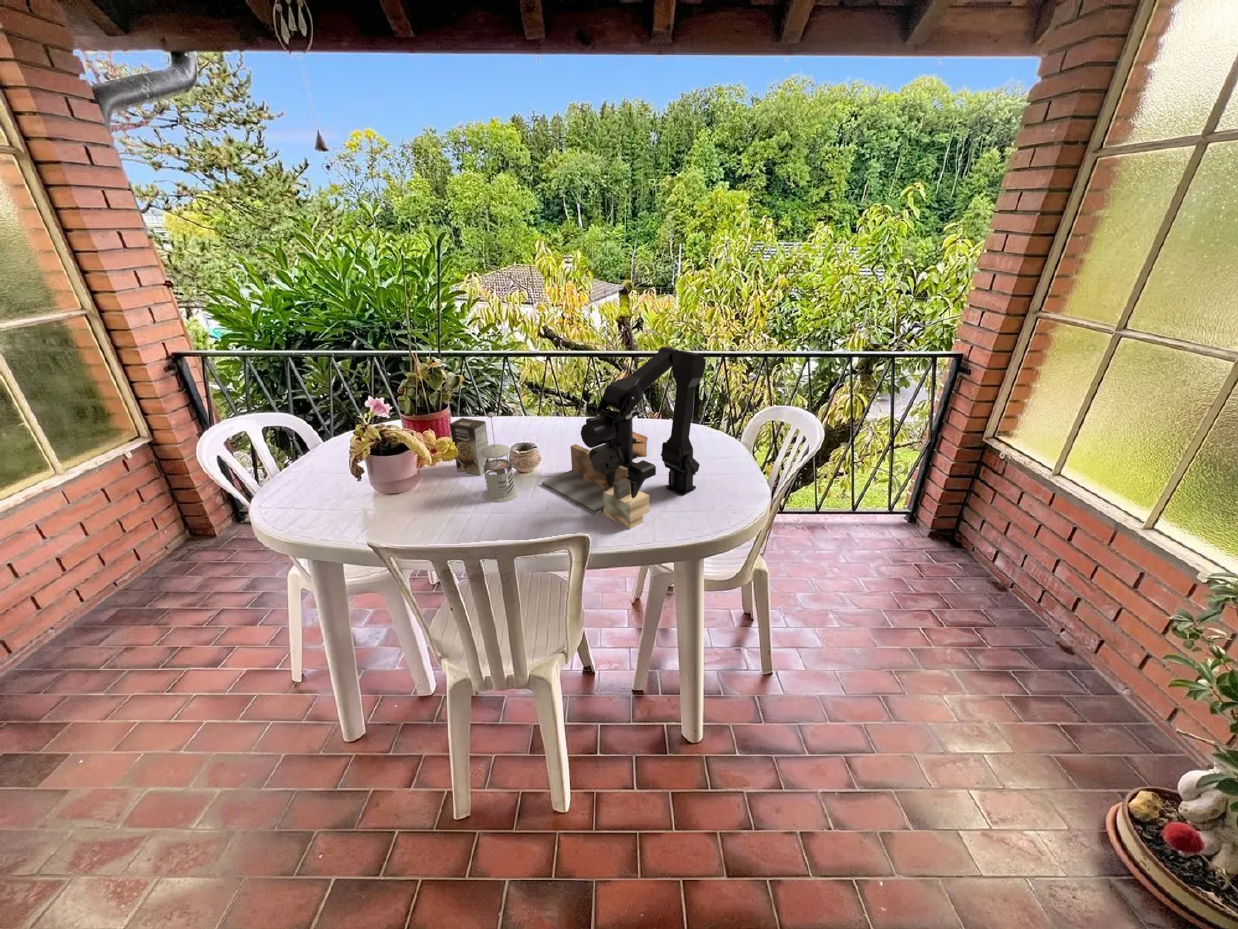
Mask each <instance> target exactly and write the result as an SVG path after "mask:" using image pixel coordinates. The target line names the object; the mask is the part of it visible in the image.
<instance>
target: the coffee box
mask: <svg viewBox="0 0 1238 929" xmlns="http://www.w3.org/2000/svg"><path fill="white" fill-rule="evenodd" d="M449 429H450V435H451V440H452V443H453V442H455V446H456V448H457V450H458V456H457V457H455V456H454V460H455V463H456V464H455V465H456V471H457V472H460V473H464V472H465V473H464V474H469V473H470V475H475V476H482V475H484V469H485V464H486V463H487V462H488V461H491V458H486V457H484V456H483V455H482V454H481V451H482V450H483V449H484V448H486V447H488V446H489V440H488V439H489V438H488V432H487V431H488V430H487V423H486V421H485V420H479V419H472V418H464V417H461V418H460V419H457V420H454V421H453V422H451V423H449ZM486 472H489V470H487V471H486Z"/></svg>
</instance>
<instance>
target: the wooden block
mask: <svg viewBox="0 0 1238 929" xmlns="http://www.w3.org/2000/svg"><path fill="white" fill-rule="evenodd" d="M650 497H651V496H650V494H647V493H645V492H643V491H641V490H639V491H638V493H637V495H636V497H635V498H632V497H631V487H630V481H629V480H628V479H626V478H624V479H621V480H619V481H617V482H615V483H613V488H611V489H608V490H606V491H604V492H603V498H604V510H603V515H604V516H606V517H607V516H608V517H607V518H609V517H610V518H609V519H611V520H613V521H615V522H616V523H618V522H619V523H618V524H620V523H621V525H622V526H624V527H625V528H628V529H629V528H631V529H633V528H635V527H637V526H639V525H640V523H641V522H642V523H644V522H643V521H644V515H646V514H648V513H649V512H650V501H651V500H650V499H651V498H650ZM642 523H641V524H642ZM638 524H639V525H638ZM636 525H637V526H636Z"/></svg>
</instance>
